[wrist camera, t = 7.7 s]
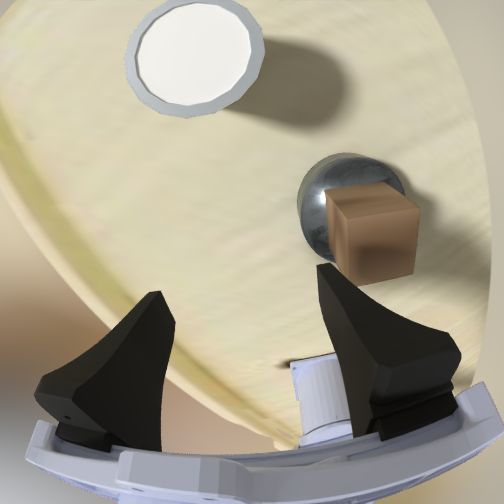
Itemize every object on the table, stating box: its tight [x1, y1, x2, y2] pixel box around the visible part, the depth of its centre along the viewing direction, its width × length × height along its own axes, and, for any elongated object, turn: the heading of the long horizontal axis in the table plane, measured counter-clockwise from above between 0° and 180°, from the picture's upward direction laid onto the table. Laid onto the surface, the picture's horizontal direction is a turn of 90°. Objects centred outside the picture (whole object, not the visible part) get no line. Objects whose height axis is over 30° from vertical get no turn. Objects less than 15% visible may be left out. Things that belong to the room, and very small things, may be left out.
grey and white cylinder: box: [124, 0, 265, 118], centre depth 13 cm, size 7×7×7 cm
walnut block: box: [324, 182, 420, 287], centre depth 17 cm, size 4×4×5 cm
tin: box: [297, 153, 405, 263], centre depth 20 cm, size 8×8×3 cm
